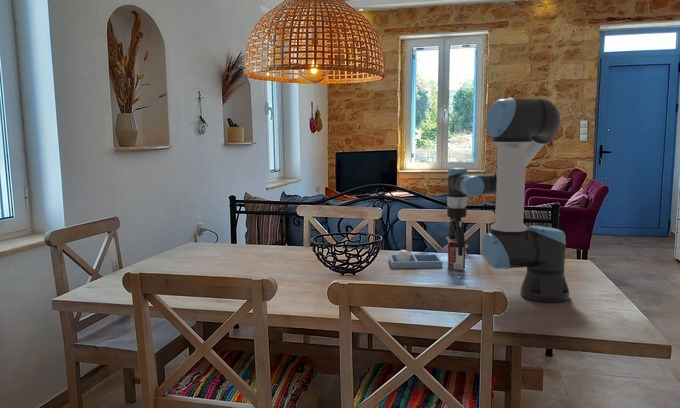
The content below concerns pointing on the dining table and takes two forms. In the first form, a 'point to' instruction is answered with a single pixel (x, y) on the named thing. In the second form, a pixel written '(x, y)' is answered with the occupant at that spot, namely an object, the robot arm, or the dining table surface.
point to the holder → (417, 261)
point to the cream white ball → (403, 256)
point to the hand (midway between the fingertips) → (456, 259)
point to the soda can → (454, 257)
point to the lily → (447, 247)
